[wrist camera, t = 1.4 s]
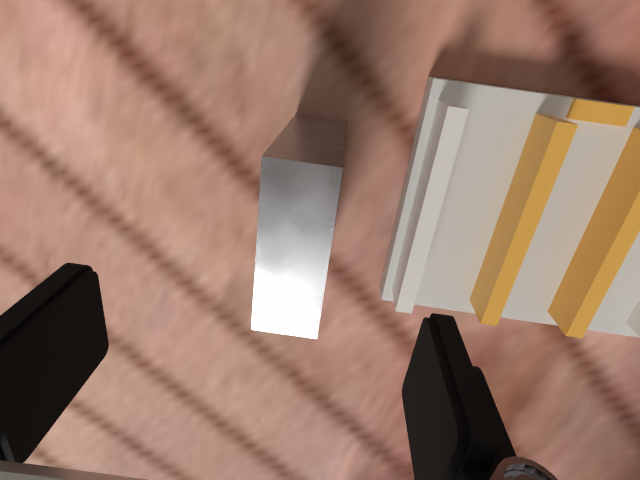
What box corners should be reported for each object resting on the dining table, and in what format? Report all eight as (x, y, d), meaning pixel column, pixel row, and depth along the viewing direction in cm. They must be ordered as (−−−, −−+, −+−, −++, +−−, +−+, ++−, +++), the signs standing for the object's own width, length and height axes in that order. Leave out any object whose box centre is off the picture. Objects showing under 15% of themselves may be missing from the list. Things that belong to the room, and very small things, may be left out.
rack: (700, 334, 28) (751, 376, 24) (379, 287, 28) (384, 322, 25) (841, 134, 22) (937, 152, 18) (428, 76, 22) (443, 82, 18)
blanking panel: (328, 241, 27) (316, 339, 18) (284, 235, 27) (251, 329, 18) (346, 121, 23) (343, 167, 14) (296, 113, 23) (261, 156, 14)
